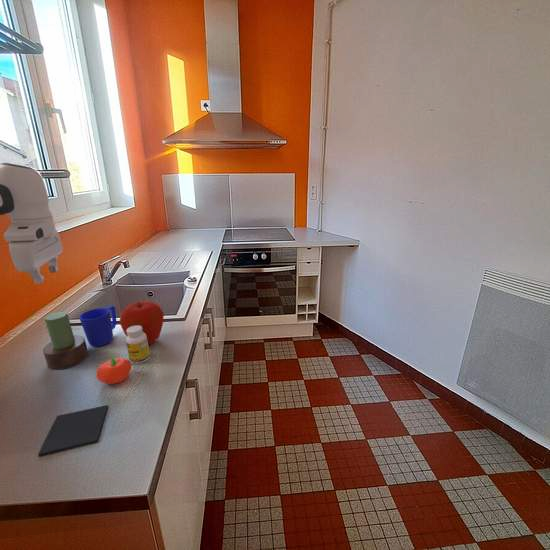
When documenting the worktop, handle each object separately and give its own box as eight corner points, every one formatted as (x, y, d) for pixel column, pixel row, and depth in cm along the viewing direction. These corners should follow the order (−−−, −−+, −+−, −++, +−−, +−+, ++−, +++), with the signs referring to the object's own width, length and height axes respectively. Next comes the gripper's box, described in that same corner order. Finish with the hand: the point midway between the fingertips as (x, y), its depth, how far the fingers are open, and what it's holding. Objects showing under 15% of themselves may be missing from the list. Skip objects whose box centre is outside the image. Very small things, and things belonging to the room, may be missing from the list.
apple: (128, 358, 87) (119, 314, 82) (122, 340, 96) (113, 299, 92) (171, 344, 93) (165, 302, 88) (162, 329, 103) (155, 290, 98)
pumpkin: (102, 374, 80) (97, 353, 78) (134, 368, 82) (130, 348, 80) (95, 392, 73) (89, 370, 71) (130, 385, 75) (125, 363, 73)
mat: (38, 456, 57) (37, 454, 57) (57, 417, 66) (56, 415, 66) (97, 442, 59) (97, 439, 59) (108, 406, 69) (107, 404, 68)
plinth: (41, 373, 81) (36, 357, 80) (55, 353, 90) (50, 338, 89) (83, 365, 84) (79, 350, 82) (92, 347, 93) (88, 332, 91)
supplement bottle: (125, 362, 85) (118, 331, 82) (140, 352, 90) (134, 322, 86) (140, 366, 83) (134, 334, 80) (154, 355, 88) (149, 325, 84)
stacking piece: (50, 350, 82) (41, 321, 80) (57, 341, 87) (48, 313, 84) (71, 347, 84) (63, 318, 81) (77, 338, 89) (69, 310, 86)
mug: (129, 330, 102) (123, 303, 99) (104, 350, 91) (96, 320, 88) (107, 328, 104) (101, 302, 101) (80, 348, 93) (72, 318, 89)
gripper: (38, 222, 89) (49, 267, 93) (-1, 236, 70) (15, 291, 75) (63, 221, 90) (72, 265, 95) (30, 235, 72) (44, 289, 76)
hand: (47, 277), depth 85 cm, fingers open, 8 cm apart
